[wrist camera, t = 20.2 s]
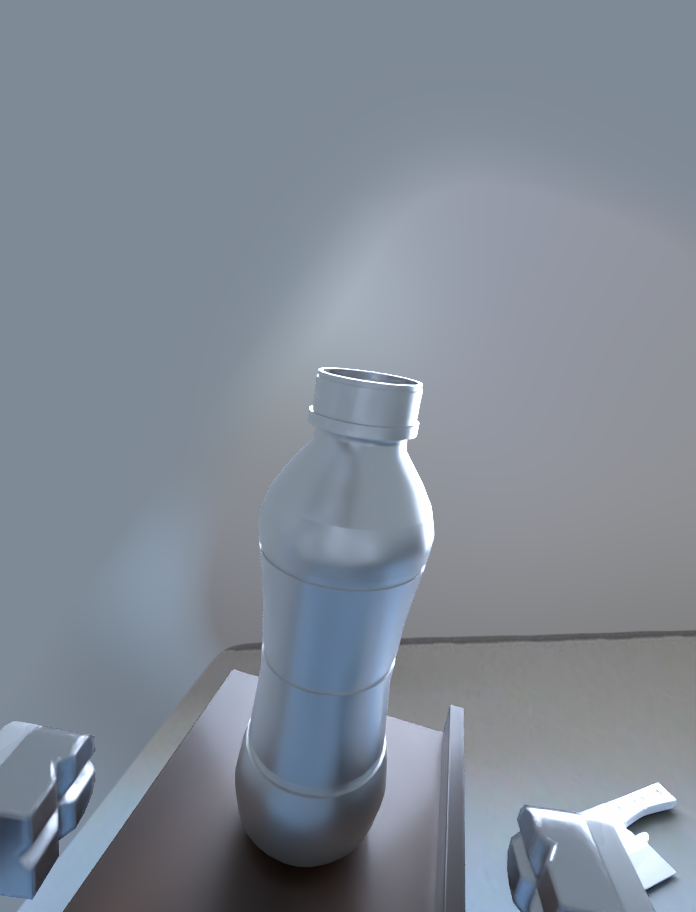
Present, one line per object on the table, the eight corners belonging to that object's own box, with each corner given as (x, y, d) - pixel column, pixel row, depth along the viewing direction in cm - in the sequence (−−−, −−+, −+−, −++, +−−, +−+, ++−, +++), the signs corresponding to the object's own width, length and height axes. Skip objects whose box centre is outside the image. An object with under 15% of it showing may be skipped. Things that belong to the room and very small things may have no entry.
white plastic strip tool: (718, 852, 35) (724, 841, 35) (571, 930, 29) (576, 917, 29) (654, 788, 39) (658, 778, 39) (514, 844, 33) (518, 833, 33)
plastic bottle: (405, 848, 21) (511, 399, 15) (259, 932, 17) (330, 388, 12) (334, 734, 26) (395, 369, 21) (211, 781, 22) (245, 355, 17)
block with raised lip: (55, 1131, 20) (45, 891, 16) (219, 812, 33) (235, 641, 29) (386, 1310, 17) (466, 1073, 13) (419, 885, 30) (464, 707, 27)
